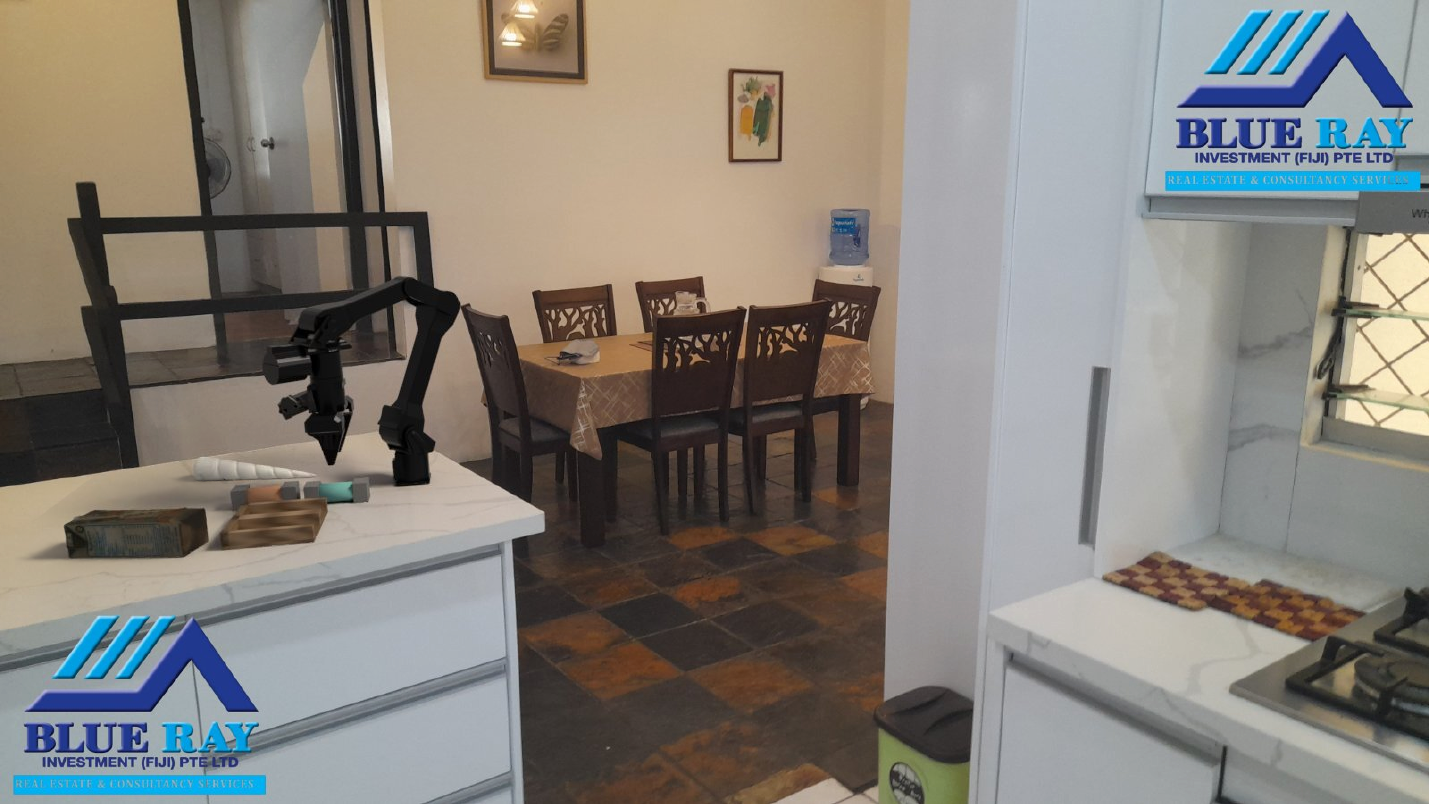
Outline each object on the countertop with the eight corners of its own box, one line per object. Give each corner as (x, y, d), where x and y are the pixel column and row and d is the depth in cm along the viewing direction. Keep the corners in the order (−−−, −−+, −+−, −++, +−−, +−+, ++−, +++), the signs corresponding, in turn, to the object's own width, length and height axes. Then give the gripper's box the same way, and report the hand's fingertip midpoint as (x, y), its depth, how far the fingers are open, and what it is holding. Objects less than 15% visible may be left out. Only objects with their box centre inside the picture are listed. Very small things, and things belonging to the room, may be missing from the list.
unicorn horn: (308, 483, 192) (306, 460, 191) (192, 483, 193) (189, 460, 192) (319, 476, 196) (316, 454, 195) (205, 476, 197) (202, 454, 196)
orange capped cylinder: (300, 500, 181) (298, 480, 180) (297, 506, 177) (295, 486, 176) (237, 504, 178) (235, 485, 178) (232, 511, 175) (230, 491, 174)
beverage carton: (98, 542, 160) (92, 504, 159) (212, 541, 160) (208, 504, 159) (66, 560, 152) (60, 520, 151) (187, 559, 152) (182, 520, 151)
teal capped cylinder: (370, 496, 183) (368, 477, 182) (368, 502, 179) (366, 482, 178) (308, 501, 180) (306, 481, 179) (305, 507, 177) (303, 487, 176)
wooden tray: (327, 511, 174) (326, 497, 173) (314, 542, 159) (312, 526, 158) (244, 518, 171) (242, 503, 170) (221, 550, 155) (219, 533, 155)
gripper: (288, 369, 182) (297, 449, 185) (268, 388, 164) (278, 476, 167) (350, 366, 184) (358, 444, 188) (337, 385, 167) (346, 471, 170)
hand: (334, 458), depth 178 cm, fingers open, 9 cm apart
